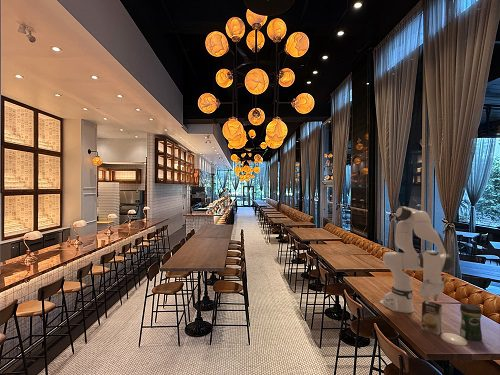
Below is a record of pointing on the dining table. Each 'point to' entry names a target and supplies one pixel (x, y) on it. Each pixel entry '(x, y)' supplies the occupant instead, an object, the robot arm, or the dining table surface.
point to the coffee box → (431, 317)
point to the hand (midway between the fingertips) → (431, 302)
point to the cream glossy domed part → (454, 339)
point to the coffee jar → (470, 322)
